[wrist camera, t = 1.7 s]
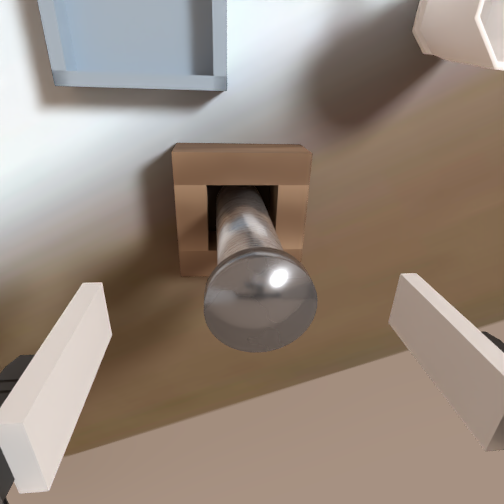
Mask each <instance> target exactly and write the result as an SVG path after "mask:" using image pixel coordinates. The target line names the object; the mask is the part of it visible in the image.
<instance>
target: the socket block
mask: <svg viewBox="0 0 504 504" xmlns="http://www.w3.org/2000/svg"><path fill="white" fill-rule="evenodd" d="M171 154H172V168H173V181H174V194H175V208H176V221H177V235H178V248H179V262H180V275H181V277H188V276H210V274H211V273H212V271H213V270H214V269H215V267H216V266H217V231H216V232H209V216H208V185H270V195H269V217H270V219H271V222H272V224H273V226H274V229H275V231H276V233H277V236H278V238H279V241H280V243H281V245H282V248H283V250H284V252H287V253H289V254H290V255H292V256H294V257H295V258H296V259H297V260H299V261H300V262H301V257H302V248H303V239H304V229H305V220H306V210H307V201H308V191H309V182H310V172H311V163H312V154H313V153H311V152H310V151H308V150H307V149H306V148H304V147H303V146H302V145H295V144H222V143H176V145H175V147H174V148H173V150H172V152H171Z"/></svg>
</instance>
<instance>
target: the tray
mask: <svg viewBox="0 0 504 504" xmlns="http://www.w3.org/2000/svg"><path fill="white" fill-rule="evenodd" d="M37 1H38V6H39V11H40V16H41V21H42V25H43V30H44V35H45V40H46V45H47V50H48V55H49V59H50V64H51V69H52V74H53V79H54V84H55V86H77V87H110V88H144V89H177V90H211V91H227V0H37Z"/></svg>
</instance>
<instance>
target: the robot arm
mask: <svg viewBox="0 0 504 504" xmlns="http://www.w3.org/2000/svg"><path fill="white" fill-rule="evenodd" d="M388 323H389V324H390V325H391V327H392V328H393V329H394V331H395V332H396V333H397V335H398V336H399V337H400V339H401V340H402V341H403V343H404V344H405V345H406V347H407V348H408V349H409V351H410V352H411V353H412V355H413V356H414V357H415V359H416V360H417V361H418V363H419V364H420V365H421V367H422V368H423V369H424V371H425V372H426V373H427V374H428V376H429V377H430V378H431V380H432V381H433V383H434V384H435V385H436V387H437V388H438V389H439V390H440V392H441V393H442V395H443V396H444V397H445V399H446V400H447V401H448V403H449V404H450V405H451V407H452V408H453V409H454V411H455V412H456V413H457V415H458V416H459V417H460V419H461V420H462V421H463V422H464V424H465V425H466V427H467V428H468V429H469V431H470V432H471V433H472V435H473V436H474V437H475V439H476V440H477V441H478V443H479V444H480V445H481V447H482V448H483V449H484V451H496V450H504V343H503V342H502V341H501V340H499V339H497V338H495V337H494V336H492V335H490V334H489V333H487V332H480V331H479V330H478V329H477V328H476V327H475V326H474V325H473V324H472V323H470V322H469V321H468V320H467V319H466V318H465V317H464V316H463V315H462V314H461V313H459V312H458V311H457V310H456V309H455V308H454V307H453V306H452V305H451V304H450V303H448V302H447V301H446V300H445V299H444V298H443V297H442V296H441V295H440V294H439V293H437V292H436V291H435V290H434V289H433V288H432V287H431V286H430V285H429V284H428V283H426V282H425V281H424V280H423V279H422V278H421V277H420V276H419V275H418V274H417V273H406V274H400V278H399V282H398V286H397V290H396V294H395V298H394V302H393V306H392V310H391V314H390V318H389V322H388ZM111 336H112V332H111V327H110V322H109V316H108V311H107V306H106V300H105V295H104V290H103V284H102V282H95V283H82V285H81V286H80V288H79V289H78V291H77V292H76V294H75V295H74V297H73V299H72V300H71V302H70V303H69V305H68V306H67V308H66V309H65V311H64V312H63V314H62V315H61V317H60V318H59V320H58V321H57V323H56V324H55V326H54V327H53V329H52V330H51V332H50V333H49V335H48V336H47V338H46V339H45V341H44V342H43V344H42V345H41V347H40V348H39V350H38V351H37V353H36V354H35V355H20V356H19V357H17V358H16V359H15V360H14V361H12V362H11V363H10V364H9V365H7V366H6V367H5V368H4V369H3V371H2V372H1V373H0V504H9V503H8V501H7V499H6V495H7V494H8V492H9V490H10V488H11V486H12V484H13V482H15V485H16V487H17V489H18V491H19V493H20V494H21V493H32V492H42V491H49V490H50V487H51V484H52V482H53V480H54V477H55V475H56V472H57V470H58V467H59V465H60V462H61V460H62V457H63V455H64V453H65V450H66V448H67V445H68V443H69V440H70V438H71V435H72V433H73V430H74V428H75V425H76V423H77V420H78V418H79V415H80V413H81V410H82V408H83V406H84V403H85V401H86V398H87V396H88V393H89V391H90V388H91V386H92V383H93V381H94V378H95V376H96V373H97V371H98V368H99V366H100V363H101V361H102V359H103V356H104V354H105V351H106V349H107V346H108V344H109V341H110V339H111Z"/></svg>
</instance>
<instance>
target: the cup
mask: <svg viewBox="0 0 504 504" xmlns="http://www.w3.org/2000/svg"><path fill="white" fill-rule="evenodd" d="M412 33H413V35H414V37H415V39H416V41H417V43H418V45H419V47H420V49H421V51H422V53H423V54H429V55H435V56H437V57H440V58H442V59H444V60H446V61H452V62H458V63H464V64H470V65H474V66H479V67H484V68H490V69H496V70H504V0H420V1H419V5H418V9H417V13H416V17H415V21H414V25H413V29H412Z"/></svg>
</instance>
